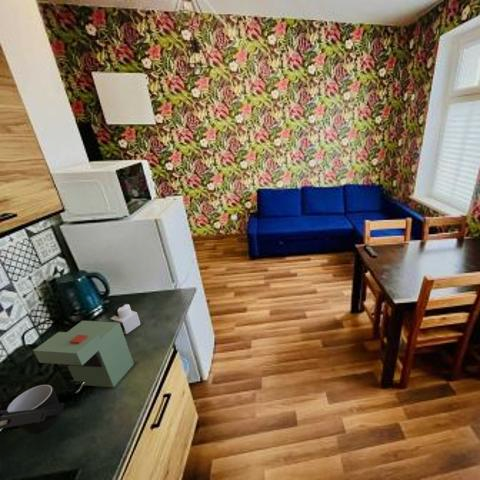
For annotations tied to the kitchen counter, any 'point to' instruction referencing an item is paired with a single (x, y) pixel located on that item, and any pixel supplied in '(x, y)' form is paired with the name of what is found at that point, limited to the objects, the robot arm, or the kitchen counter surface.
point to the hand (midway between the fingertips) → (44, 406)
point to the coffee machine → (89, 352)
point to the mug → (35, 407)
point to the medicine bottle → (125, 317)
